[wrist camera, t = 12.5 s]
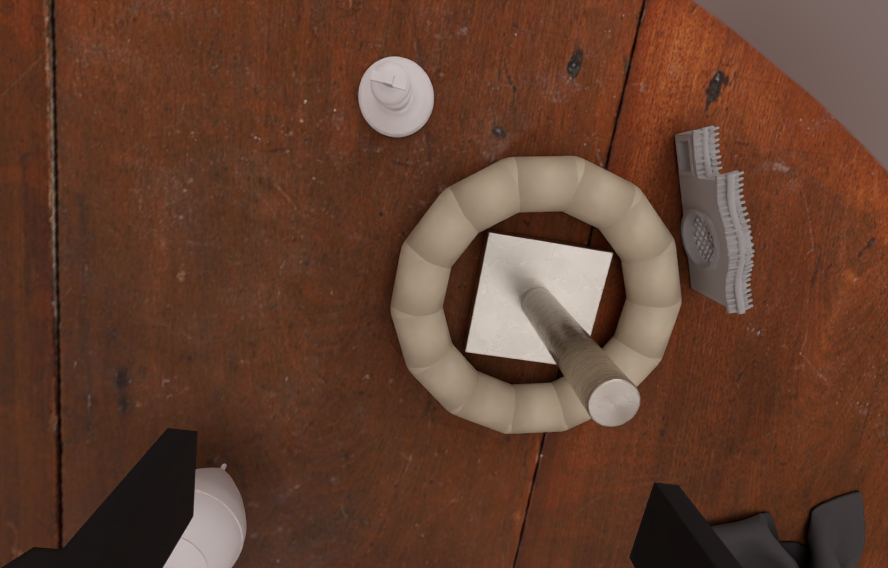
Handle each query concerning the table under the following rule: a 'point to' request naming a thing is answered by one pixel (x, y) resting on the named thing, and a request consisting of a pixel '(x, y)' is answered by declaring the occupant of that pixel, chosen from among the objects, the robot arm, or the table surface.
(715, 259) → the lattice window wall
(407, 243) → the ring
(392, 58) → the chess piece
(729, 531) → the cloth
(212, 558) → the spinning top
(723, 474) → the table surface
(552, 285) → the stand
